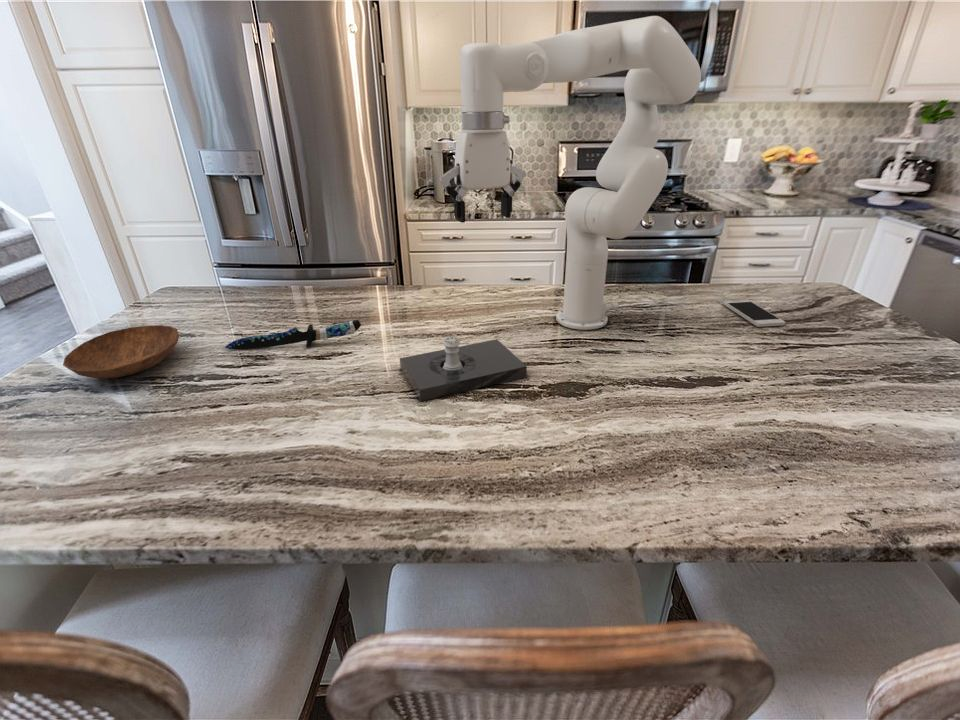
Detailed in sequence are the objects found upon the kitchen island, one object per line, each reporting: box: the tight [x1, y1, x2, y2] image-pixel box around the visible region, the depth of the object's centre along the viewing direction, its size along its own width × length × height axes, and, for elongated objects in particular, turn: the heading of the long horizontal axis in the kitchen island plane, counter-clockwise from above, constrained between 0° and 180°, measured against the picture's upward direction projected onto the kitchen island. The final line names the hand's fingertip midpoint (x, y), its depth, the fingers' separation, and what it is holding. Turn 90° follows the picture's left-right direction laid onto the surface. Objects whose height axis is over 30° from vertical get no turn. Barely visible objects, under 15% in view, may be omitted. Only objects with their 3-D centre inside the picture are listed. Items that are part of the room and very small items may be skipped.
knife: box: [225, 319, 362, 351], centre depth 113 cm, size 31×3×4 cm, turn 93°
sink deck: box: [399, 339, 528, 402], centre depth 100 cm, size 22×14×2 cm, turn 113°
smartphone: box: [723, 299, 786, 328], centre depth 126 cm, size 7×16×1 cm, turn 6°
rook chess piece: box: [443, 335, 463, 370], centre depth 99 cm, size 4×4×8 cm
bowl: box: [62, 324, 180, 380], centre depth 105 cm, size 20×22×5 cm
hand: (483, 218), depth 98 cm, fingers open, 9 cm apart
